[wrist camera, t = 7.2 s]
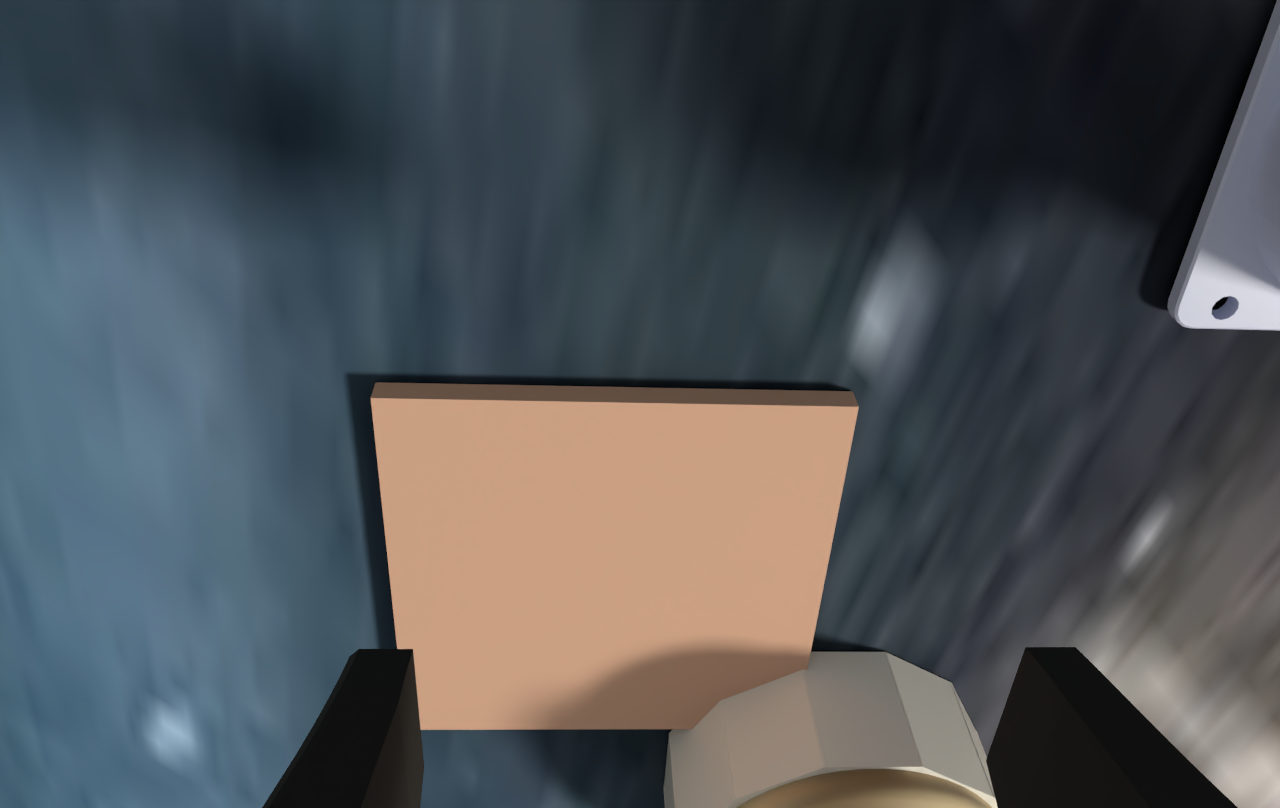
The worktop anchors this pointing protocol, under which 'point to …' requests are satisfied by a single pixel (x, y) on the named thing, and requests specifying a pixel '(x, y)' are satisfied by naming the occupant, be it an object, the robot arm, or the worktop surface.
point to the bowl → (826, 732)
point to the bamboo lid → (869, 792)
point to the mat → (604, 546)
